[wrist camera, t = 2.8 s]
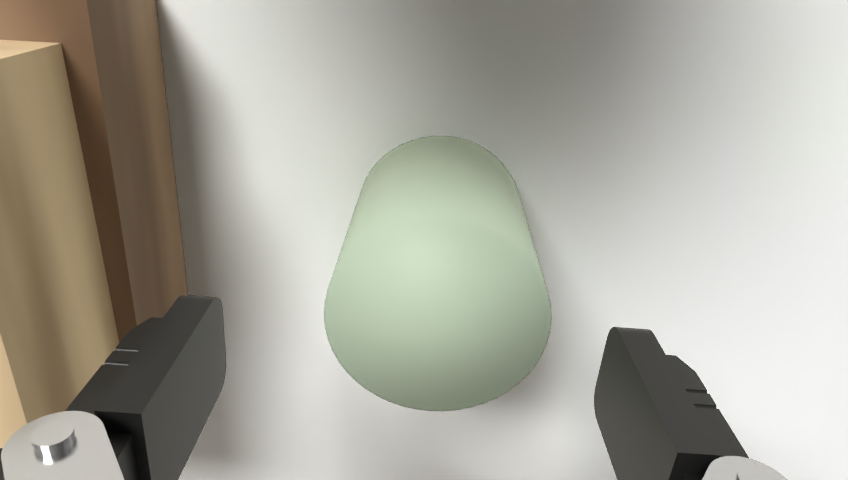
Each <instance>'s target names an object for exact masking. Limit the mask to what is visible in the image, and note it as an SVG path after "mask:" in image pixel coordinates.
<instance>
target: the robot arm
mask: <svg viewBox="0 0 848 480" xmlns="http://www.w3.org/2000/svg"><path fill="white" fill-rule="evenodd" d="M225 372H226V352H225V338H224V324H223V311H222V304H221V301H220V299H219V298H217V297H203V296H190V295H180V296H179V297H178V298H177V299H176V301H175V302H174V303H173V305H172V306H171V307H170V309H169V310H168V312H167V313H166V314H165V316H164V317H163V318H156V317H151V318H149V319H147V320H146V321H144V322H143V323H141V324H139V325H138V326H136V327H134V328H133V329H131V330H130V331H129V332H128V333H127V334H126V335H125V337H124V338H123V339H122V340H121V342H120V343H119V344H118V345H117V347H116V350H115V351H112V353H111V354H110V355H109V356H108V358H107V359H106V360H105V364H104V365H101V366H100V368H99V369H98V370H97V371H96V373H95V374H94V375H93V376H92V378H91V379H90V380H89V381H88V383H87V384H86V385H85V386H84V388H83V389H82V390H81V391H80V393H79V394H78V395H77V396H76V398H75V399H74V400H73V401H72V403H71V404H70V405H69V406H68V408H67V409H66V410H65V411H63V412H57V413H53V414H49V415H46V416H43V417H40V418H38V419H36V420H33V421H31V422H29V423H28V424H26V425H24V426H23V427H21V428H20V429H19V430H17V431H16V432H15V433H14V434H13V435H12V436H11V437H10V438H9V439H8V440H7V441H6V443H5V445H4V447H3V448H0V480H178V479H179V476H180V474H181V472H182V470H183V468H184V466H185V464H186V462H187V460H188V458H189V456H190V454H191V452H192V450H193V448H194V446H195V443H196V441H197V439H198V437H199V435H200V433H201V431H202V429H203V427H204V425H205V423H206V421H207V419H208V417H209V415H210V412H211V410H212V408H213V406H214V404H215V402H216V400H217V398H218V396H219V394H220V392H221V389H222V386H223V383H224V378H225ZM594 407H595V415H596V419H597V422H598V425H599V428H600V430H601V433H602V436H603V439H604V442H605V445H606V448H607V451H608V453H609V456H610V459H611V462H612V465H613V468H614V471H615V474H616V477H617V479H618V480H787V479H786V478H785V477H784V476H782V475H781V474H780V473H778V472H777V471H775V470H774V469H772V468H770V467H769V466H767V465H765V464H763V463H760V462H758V461H755V460H752V459H749V457H748V456H747V454H746V452H745V451H744V449H743V448H742V446H741V444H740V443H739V441H738V440H737V438H736V436H735V435H734V433H733V431H732V430H731V428H730V427H729V425H728V423H727V422H726V420H725V419H724V417H723V415H722V414H721V412H720V410H719V409H716V404H715V402H714V401H713V399H712V398H711V396H710V394H707V390H706V388H705V386H704V385H703V383H702V381H701V380H700V378H699V377H698V375H697V373H696V372H695V371H694V370H692V369H691V368H690V367H689V366H688V365H686V364H685V363H684V362H683V361H682V360H680V359H679V358H678V357H677V356H673V355H665V353H664V351H663V349H662V348H661V346H660V344H659V342H658V341H657V339H656V337H655V335H654V334H653V332H652V331H651V330H647V329H634V328H620V327H613V328H612V329H611V330H610V331H609V334H608V337H607V341H606V345H605V349H604V353H603V358H602V362H601V366H600V370H599V374H598V379H597V383H596V387H595V395H594Z"/></svg>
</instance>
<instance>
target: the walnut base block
mask: <svg viewBox="0 0 848 480" xmlns="http://www.w3.org/2000/svg"><path fill="white" fill-rule="evenodd" d="M0 40H16V41H33V42H51V43H61V46H62V51H63V56H64V62H65V67H66V72H67V77H68V82H69V87H70V92H71V97H72V102H73V107H74V113H75V118H76V123H77V128H78V133H79V138H80V143H81V148H82V153H83V159H84V164H85V169H86V174H87V179H88V184H89V189H90V195H91V200H92V205H93V210H94V215H95V220H96V225H97V230H98V236H99V241H100V246H101V251H102V256H103V261H104V266H105V272H106V277H107V282H108V287H109V292H110V297H111V302H112V308H113V313H114V318H115V323H116V328H117V333H118V338H119V343H120V342H121V340H122V339H123V338H124V337H125V335H126V334H127V333H128V332H129V331H130V330H131V329H133V328H134V327H136V326H138V325H139V324H141V323H143V322H144V321H146V320H147V319H149V318H151V317H156V318H163V317H164V316H165V314H166V313H167V312H168V310H169V309H170V307H171V306H172V305H173V303H174V302H175V301H176V299H177V298H178V297H179V296H180V295H188V290H187V281H186V272H185V262H184V253H183V244H182V235H181V226H180V217H179V208H178V199H177V190H176V181H175V172H174V163H173V154H172V144H171V135H170V126H169V117H168V108H167V99H166V90H165V81H164V72H163V63H162V54H161V45H160V35H159V26H158V17H157V8H156V0H0Z"/></svg>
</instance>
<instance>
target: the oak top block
mask: <svg viewBox="0 0 848 480" xmlns="http://www.w3.org/2000/svg"><path fill="white" fill-rule="evenodd" d="M118 344H119V338H118V333H117V328H116V323H115V318H114V313H113V308H112V302H111V297H110V292H109V287H108V282H107V277H106V272H105V266H104V261H103V256H102V251H101V246H100V241H99V236H98V230H97V225H96V220H95V215H94V210H93V205H92V200H91V195H90V189H89V184H88V179H87V174H86V169H85V164H84V159H83V153H82V148H81V143H80V138H79V133H78V128H77V123H76V118H75V113H74V107H73V102H72V97H71V92H70V87H69V82H68V77H67V72H66V67H65V62H64V56H63V51H62V46H61V43H51V42H33V41H16V40H0V448H3V447H4V445H5V443H6V441H7V440H8V439H9V438H10V437H11V436H12V435H13V434H14V433H15V432H16V431H17V430H19V429H20V428H21V427H23V426H24V425H26V424H28V423H29V422H31V421H33V420H36V419H38V418H40V417H43V416H46V415H49V414H53V413H57V412H63V411H65V410H66V409H67V408H68V406H69V405H70V404H71V403H72V401H73V400H74V399H75V398H76V396H77V395H78V394H79V393H80V391H81V390H82V389H83V388H84V386H85V385H86V384H87V383H88V381H89V380H90V379H91V378H92V376H93V375H94V374H95V373H96V371H97V370H98V369H99V368H100V366H101V365H104V364H105V360H106V359H107V358H108V356H109V355H110V354H111V353H112V351H115V350H116V347H117V345H118Z"/></svg>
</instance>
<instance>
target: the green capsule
mask: <svg viewBox="0 0 848 480" xmlns="http://www.w3.org/2000/svg"><path fill="white" fill-rule="evenodd" d="M324 321H325V329H326V333H327V338H328V341H329V343H330V346H331V348H332V351H333V352H334V354H335V356H336V358H337V359H338V361H339V363H340V364H341V365H342V367H343V368H344V369H345V370H346V372H347V373H348V374H349V375H350V376H351V377H352V378H353V379H354V380H355V381H356V382H358V383H359V384H360V385H361V386H363V387H364V388H365V389H367V390H368V391H370V392H372V393H373V394H375V395H376V396H378V397H380V398H382V399H385V400H387V401H389V402H392V403H394V404H397V405H400V406H404V407H408V408H412V409H418V410H426V411H451V410H460V409H465V408H470V407H474V406H477V405H480V404H483V403H486V402H488V401H490V400H493V399H495V398H497V397H499V396H501V395H502V394H504V393H506V392H508V391H509V390H510V389H512V388H513V387H514V386H516V385H517V384H518V383H519V382H520V381H521V380H523V379H524V378H525V377H526V376H527V375H528V373H529V372H530V371H531V370H532V369H533V367H534V366H535V365H536V363H537V362H538V360H539V358H540V357H541V355H542V353H543V351H544V348H545V346H546V344H547V340H548V337H549V333H550V326H551V304H550V300H549V295H548V291H547V288H546V284H545V281H544V277H543V274H542V271H541V267H540V264H539V260H538V257H537V254H536V250H535V247H534V243H533V240H532V237H531V233H530V230H529V227H528V223H527V220H526V216H525V213H524V210H523V206H522V203H521V199H520V196H519V193H518V190H517V187H516V184H515V182H514V180H513V178H512V176H511V174H510V173H509V171H508V170H507V169H506V167H505V166H504V165H503V164H502V162H501V161H500V160H499V159H498V158H497V157H495V156H494V155H493V154H492V153H490V152H489V151H488V150H486V149H484V148H483V147H481V146H479V145H477V144H475V143H472V142H470V141H468V140H464V139H460V138H456V137H449V136H430V137H423V138H419V139H415V140H411V141H409V142H406V143H404V144H402V145H400V146H398V147H396V148H394V149H393V150H391V151H390V152H389V153H387V154H386V155H385V156H383V157H382V158H381V159H380V160H379V161H378V162H377V163H376V165H375V166H374V167H373V168H372V170H371V171H370V173H369V174H368V176H367V178H366V180H365V182H364V184H363V187H362V189H361V192H360V195H359V198H358V201H357V204H356V207H355V210H354V213H353V216H352V219H351V222H350V225H349V228H348V231H347V234H346V237H345V240H344V243H343V246H342V249H341V252H340V254H339V257H338V260H337V263H336V266H335V269H334V272H333V275H332V278H331V281H330V284H329V287H328V290H327V295H326V299H325V307H324Z"/></svg>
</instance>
